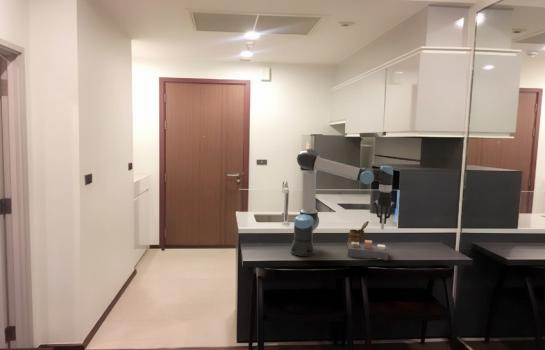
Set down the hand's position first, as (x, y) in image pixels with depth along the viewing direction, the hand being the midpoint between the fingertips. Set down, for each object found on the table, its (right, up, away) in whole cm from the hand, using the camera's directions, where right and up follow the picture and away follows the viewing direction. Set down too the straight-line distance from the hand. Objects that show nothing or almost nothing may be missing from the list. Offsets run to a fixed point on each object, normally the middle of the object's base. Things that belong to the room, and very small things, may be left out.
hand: (382, 228), depth 249 cm
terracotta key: (-8, -13, +4) cm, 16 cm away
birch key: (-16, -15, +6) cm, 22 cm away
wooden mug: (-11, -15, +20) cm, 28 cm away
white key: (0, -16, +2) cm, 16 cm away
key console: (-8, -17, +4) cm, 20 cm away
